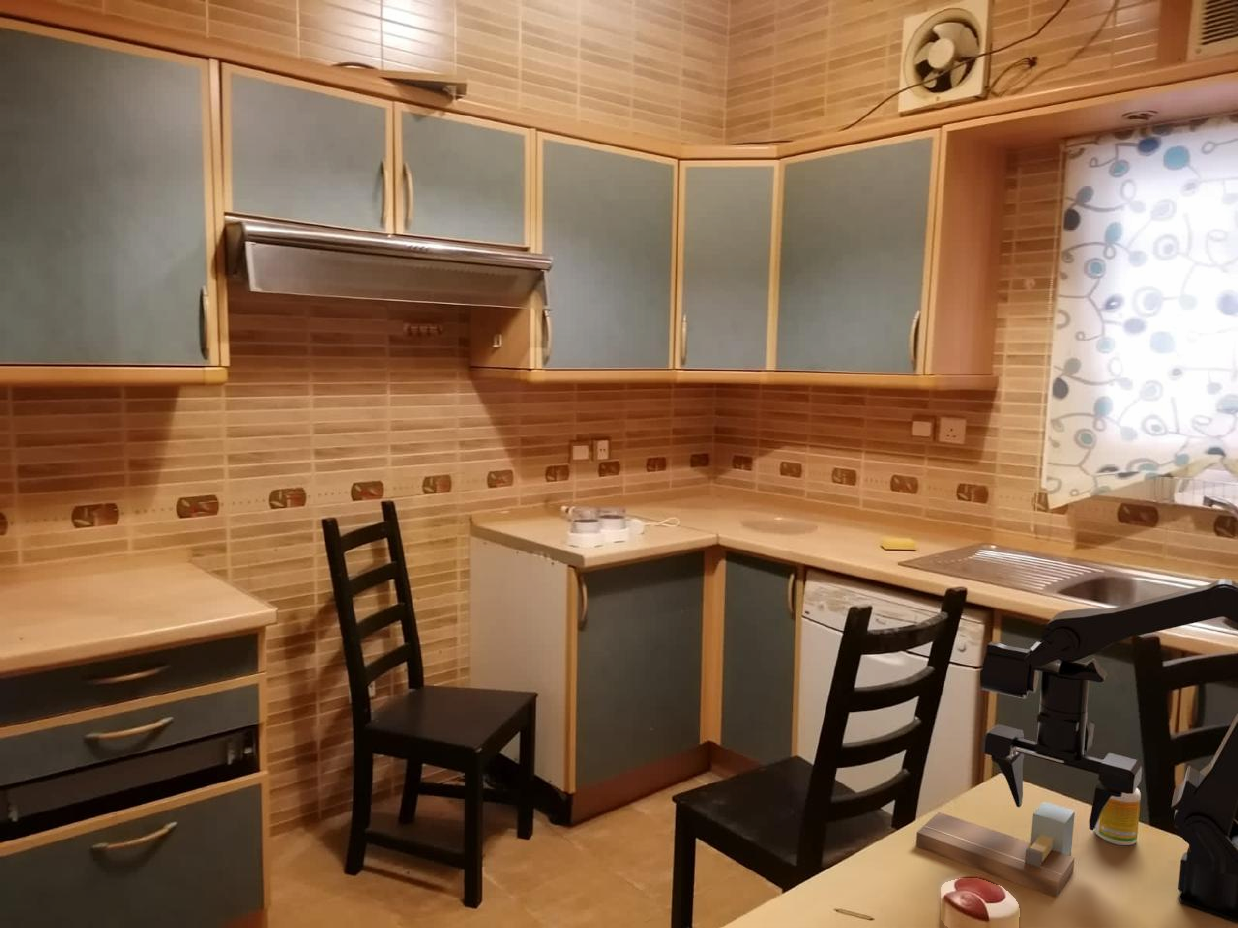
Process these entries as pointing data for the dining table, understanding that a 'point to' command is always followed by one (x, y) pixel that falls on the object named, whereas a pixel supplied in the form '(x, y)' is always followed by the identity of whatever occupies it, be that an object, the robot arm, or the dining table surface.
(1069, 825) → the light blue block
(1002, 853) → the board
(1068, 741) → the robot arm
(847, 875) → the dining table surface
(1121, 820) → the supplement bottle
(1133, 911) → the dining table surface
